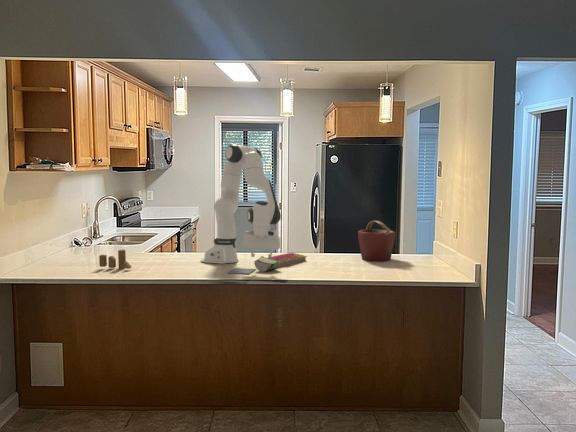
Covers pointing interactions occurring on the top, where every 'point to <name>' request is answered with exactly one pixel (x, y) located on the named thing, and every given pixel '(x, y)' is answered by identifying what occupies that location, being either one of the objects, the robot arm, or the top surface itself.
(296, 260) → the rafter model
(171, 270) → the top surface
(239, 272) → the mat
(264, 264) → the food container
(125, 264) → the wooden block set
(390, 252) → the bucket
